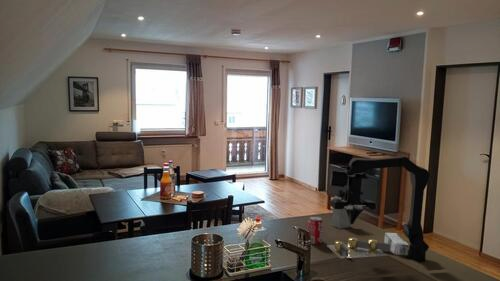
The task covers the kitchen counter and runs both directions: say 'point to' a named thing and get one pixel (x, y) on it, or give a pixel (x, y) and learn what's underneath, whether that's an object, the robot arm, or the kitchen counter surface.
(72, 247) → the kitchen counter surface
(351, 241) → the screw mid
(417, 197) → the robot arm
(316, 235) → the soda can
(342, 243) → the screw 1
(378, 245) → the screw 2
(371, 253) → the base plate
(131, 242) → the kitchen counter surface
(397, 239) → the syrup box
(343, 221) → the skincare box
